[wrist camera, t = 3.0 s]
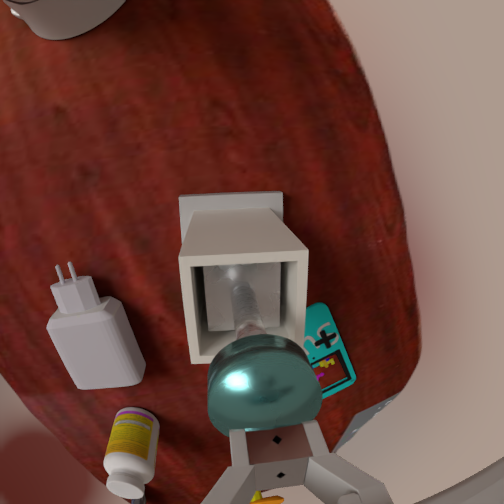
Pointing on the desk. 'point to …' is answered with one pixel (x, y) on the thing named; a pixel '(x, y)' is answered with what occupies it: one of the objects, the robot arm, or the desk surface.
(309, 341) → the handheld gaming console
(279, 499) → the toy figure
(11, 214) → the desk surface
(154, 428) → the supplement bottle
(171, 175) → the desk surface
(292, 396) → the plunger
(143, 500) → the mini dv tape
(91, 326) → the charger
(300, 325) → the press housing
